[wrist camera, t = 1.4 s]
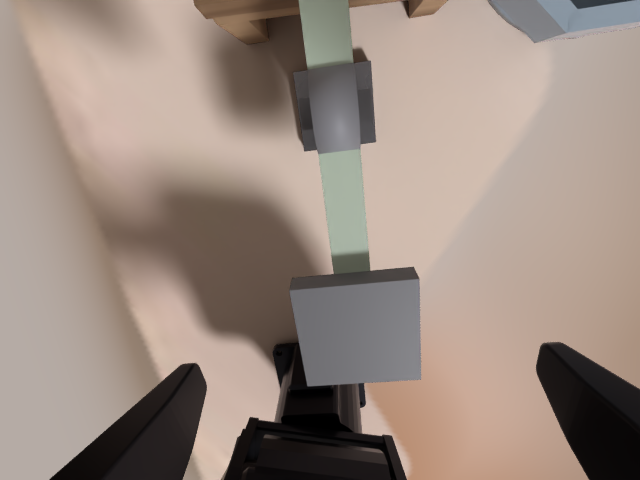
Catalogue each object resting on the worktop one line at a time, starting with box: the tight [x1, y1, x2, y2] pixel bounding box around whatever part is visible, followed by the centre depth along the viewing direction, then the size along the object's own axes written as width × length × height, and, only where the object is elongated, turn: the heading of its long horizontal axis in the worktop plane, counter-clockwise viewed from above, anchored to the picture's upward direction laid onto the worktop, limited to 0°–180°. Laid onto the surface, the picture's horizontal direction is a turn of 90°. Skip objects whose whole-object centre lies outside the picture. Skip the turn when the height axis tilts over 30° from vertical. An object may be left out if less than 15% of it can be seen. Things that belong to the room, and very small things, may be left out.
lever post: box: [293, 61, 376, 151], centre depth 14 cm, size 4×4×8 cm
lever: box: [289, 0, 421, 386], centre depth 10 cm, size 19×4×6 cm, turn 7°
